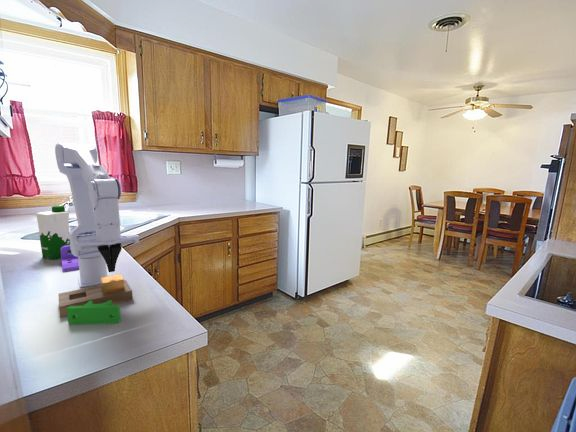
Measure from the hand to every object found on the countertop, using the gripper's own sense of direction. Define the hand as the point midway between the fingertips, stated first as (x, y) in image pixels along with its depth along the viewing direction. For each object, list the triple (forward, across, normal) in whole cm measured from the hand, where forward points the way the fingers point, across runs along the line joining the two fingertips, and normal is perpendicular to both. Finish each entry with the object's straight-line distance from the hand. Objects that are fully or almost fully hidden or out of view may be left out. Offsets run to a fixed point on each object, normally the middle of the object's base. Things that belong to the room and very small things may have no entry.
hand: (111, 270), depth 79 cm
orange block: (+8, 0, 0) cm, 8 cm away
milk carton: (+8, -12, +55) cm, 57 cm away
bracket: (+9, -7, +38) cm, 40 cm away
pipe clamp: (+9, -5, -11) cm, 15 cm away
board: (+8, -4, 0) cm, 9 cm away
